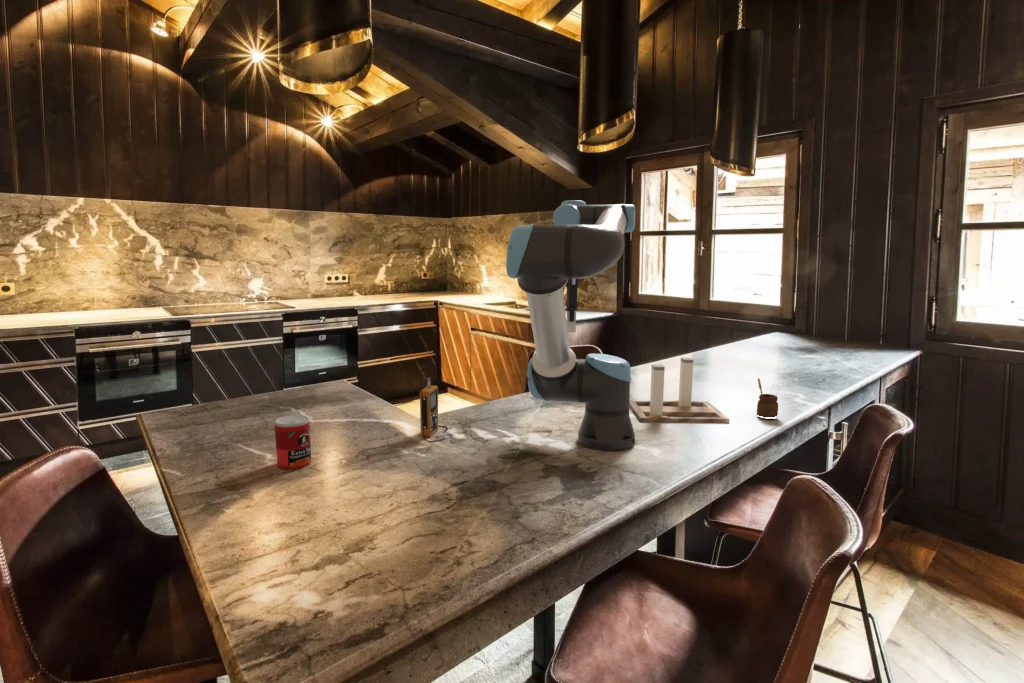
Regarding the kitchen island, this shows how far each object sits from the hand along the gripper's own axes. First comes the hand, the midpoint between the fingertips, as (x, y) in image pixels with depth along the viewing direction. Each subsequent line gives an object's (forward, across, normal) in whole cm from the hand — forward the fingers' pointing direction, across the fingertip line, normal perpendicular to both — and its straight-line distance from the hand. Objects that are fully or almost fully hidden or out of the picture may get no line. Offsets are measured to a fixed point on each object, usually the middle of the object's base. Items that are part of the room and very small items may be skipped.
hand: (571, 331), depth 175 cm
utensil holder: (+27, 0, -61) cm, 67 cm away
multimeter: (+27, -20, +37) cm, 50 cm away
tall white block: (+25, +6, -37) cm, 45 cm away
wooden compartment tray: (+26, 0, -33) cm, 42 cm away
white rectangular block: (+25, -6, -26) cm, 36 cm away
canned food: (+27, -44, +69) cm, 86 cm away
